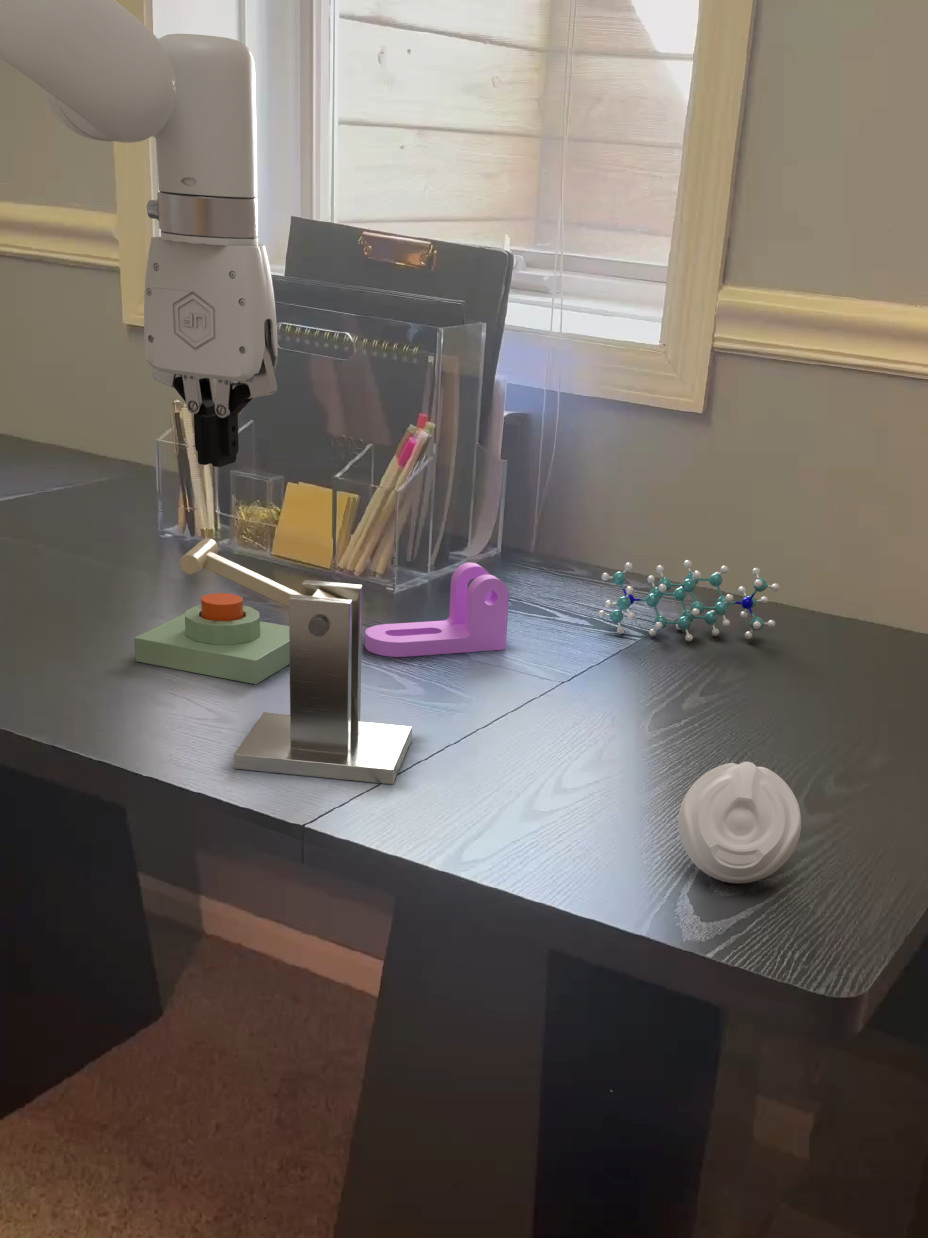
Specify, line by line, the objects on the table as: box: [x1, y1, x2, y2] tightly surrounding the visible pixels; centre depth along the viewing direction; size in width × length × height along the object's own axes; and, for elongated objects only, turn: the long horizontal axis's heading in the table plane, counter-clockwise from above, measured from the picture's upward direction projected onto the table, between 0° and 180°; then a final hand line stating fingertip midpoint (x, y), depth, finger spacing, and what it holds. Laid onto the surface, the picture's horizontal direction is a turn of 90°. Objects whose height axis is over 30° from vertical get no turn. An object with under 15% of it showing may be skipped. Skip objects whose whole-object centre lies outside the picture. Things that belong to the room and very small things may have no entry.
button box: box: [133, 604, 290, 685], centre depth 123 cm, size 12×10×4 cm
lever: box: [179, 537, 338, 608], centre depth 100 cm, size 12×5×2 cm, turn 85°
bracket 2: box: [364, 562, 510, 658], centre depth 130 cm, size 13×6×7 cm, turn 113°
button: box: [200, 592, 244, 621], centre depth 122 cm, size 4×4×2 cm
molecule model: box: [597, 559, 780, 643], centre depth 138 cm, size 8×18×7 cm, turn 95°
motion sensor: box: [677, 761, 802, 884], centre depth 91 cm, size 8×8×8 cm
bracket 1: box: [233, 579, 413, 785], centre depth 103 cm, size 12×9×13 cm
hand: (217, 462), depth 116 cm, fingers closed
